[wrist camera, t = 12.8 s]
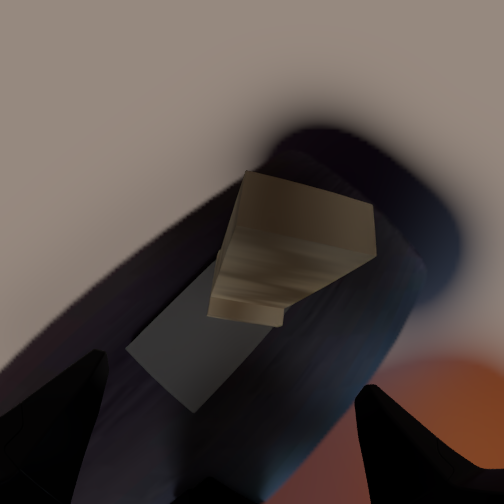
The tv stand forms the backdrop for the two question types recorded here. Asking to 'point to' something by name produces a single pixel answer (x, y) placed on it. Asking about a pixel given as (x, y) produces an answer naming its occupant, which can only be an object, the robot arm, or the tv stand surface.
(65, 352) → the tv stand surface
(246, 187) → the tapered block
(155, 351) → the slate tile
